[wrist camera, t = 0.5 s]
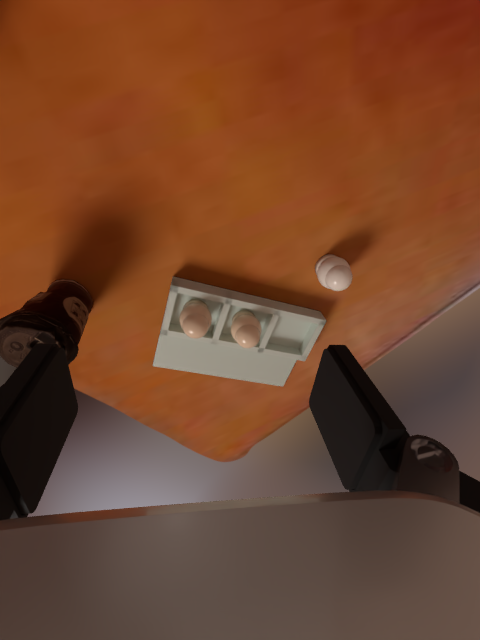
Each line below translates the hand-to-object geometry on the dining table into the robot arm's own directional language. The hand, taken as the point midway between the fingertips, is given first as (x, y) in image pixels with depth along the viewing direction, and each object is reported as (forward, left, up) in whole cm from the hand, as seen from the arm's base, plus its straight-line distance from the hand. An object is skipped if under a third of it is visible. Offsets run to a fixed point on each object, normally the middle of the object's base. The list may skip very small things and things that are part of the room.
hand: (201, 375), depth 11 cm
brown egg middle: (+16, +12, -33) cm, 38 cm away
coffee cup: (+19, -14, -34) cm, 41 cm away
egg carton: (+20, +12, -34) cm, 41 cm away
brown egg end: (+16, +4, -33) cm, 36 cm away
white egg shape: (+4, +22, -34) cm, 40 cm away
